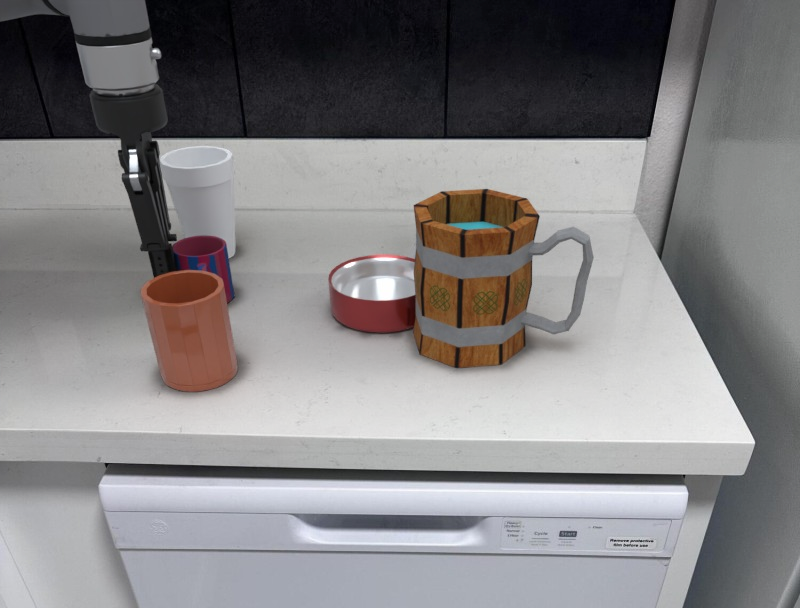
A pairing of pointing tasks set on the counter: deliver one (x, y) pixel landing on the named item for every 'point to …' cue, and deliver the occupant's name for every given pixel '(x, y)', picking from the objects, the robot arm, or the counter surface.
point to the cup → (205, 258)
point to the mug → (481, 276)
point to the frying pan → (374, 293)
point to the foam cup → (202, 191)
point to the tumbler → (190, 329)
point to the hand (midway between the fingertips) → (170, 297)
